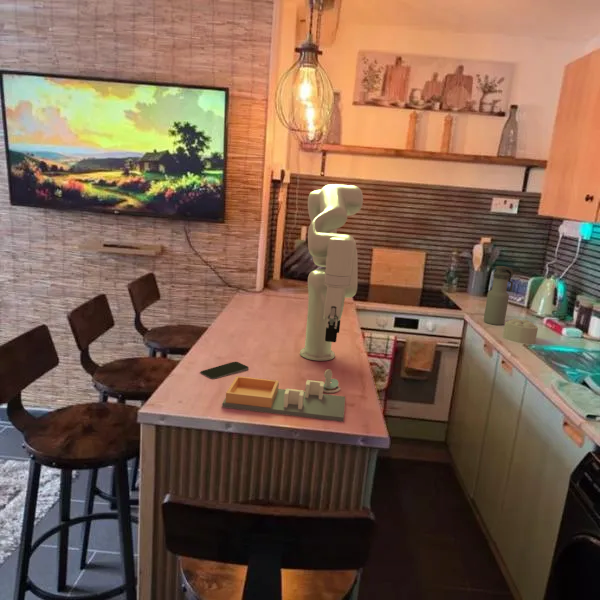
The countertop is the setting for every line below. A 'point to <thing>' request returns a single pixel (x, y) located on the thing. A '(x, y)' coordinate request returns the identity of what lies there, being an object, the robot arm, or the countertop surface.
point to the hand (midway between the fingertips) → (332, 336)
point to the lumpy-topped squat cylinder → (520, 331)
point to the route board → (302, 403)
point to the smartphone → (224, 370)
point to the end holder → (252, 391)
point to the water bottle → (498, 296)
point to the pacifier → (329, 385)
